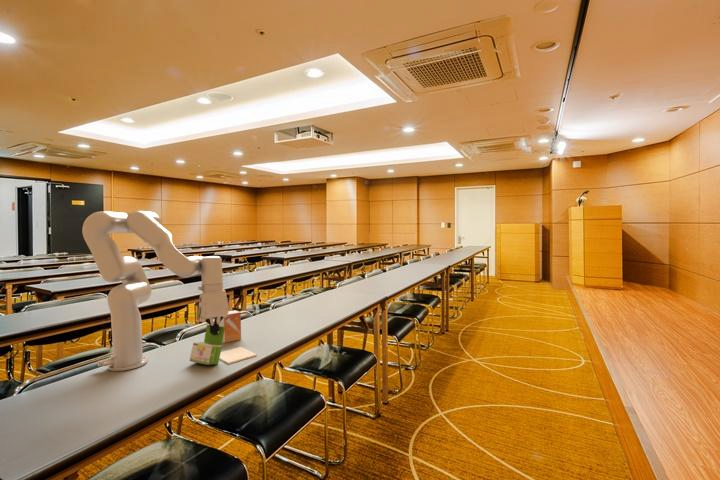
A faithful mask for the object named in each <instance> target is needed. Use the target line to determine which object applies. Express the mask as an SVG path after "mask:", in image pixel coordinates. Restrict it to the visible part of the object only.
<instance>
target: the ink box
mask: <svg viewBox="0 0 720 480" xmlns="http://www.w3.org/2000/svg"><path fill="white" fill-rule="evenodd" d="M205 329H206V330H205V332H204V333H205V335H204V340H203V342H202V341H200V342H198V341H194V342H192V349H191V352H190V357H189V362H192V363H196V364H197V363H198V364H201V365H206V366H210V365H219V363H220V359H219V358H220V353H221V352H222V348H223V347H222V346H223V342H222V341H223V336H224V330H225V327H221V326H219V332H218V335H212V334H211V333H210V326H209V324H206V328H205Z"/></svg>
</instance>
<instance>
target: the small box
mask: <svg viewBox="0 0 720 480" xmlns="http://www.w3.org/2000/svg"><path fill="white" fill-rule="evenodd" d="M241 314H242V313H241V312H240V311H239V310H235V309H234V310H229V312H228V316H227V317H225V318H223V319H222V320H221V321H220V324H219V326H221V327H225V330H224V336H223V341H222V343H224V344H227V343H230V342H235V341H239V340H240V341H241V340H242V324H241V323H242V321H241V319H242V318H241V316H242V315H241Z"/></svg>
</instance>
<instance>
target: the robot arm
mask: <svg viewBox="0 0 720 480" xmlns="http://www.w3.org/2000/svg"><path fill="white" fill-rule="evenodd" d="M81 233H82V236H83V239H84V241H85V243H86V245H87V247H88V249H89V250H90V253H91V254H92V259H93V260H94V262H95V264H96V266H97V268H98V271H99V274H100V276H101V277H102V279H103V280H104V281H105V282H107V283H119V282H121V283H122V284H118V285H117V286H114V287H113V288H111V290H110V291H109V293H108V294H107V305H108V308H109V313H110V321H111V324H110V325H111V337H112V338H111V339H112V342H111V343H112V354H111V355H110V357H107V359H102V360H97V367H102V366H103V367H107V366H108V370H110V371H112V372H122V371H123V372H124V371H129V370H133V369H137V368H139V367H143V366H144V365H146V364H147V362H148V357H147V356H144V355H143V335H142V333H143V331H142V316H141V312H140V310H139V307H138V305H141V304H144V303H145V302H147V301H149V299H151V298H150V297H151V296H152V287H151V284H150V282H149V279H148V277H147V275H146V272H145V270H144V268H143V265H141V263H140V262H139V260H138V259H137V258H135V257H133V256H126V255H125V256H123V254H122V253H121V251H120V247H119V245H118V244H117V243H116V241H115V240H114V239H113V237H111V236H110V234H135V235H136V237H138V238H140V240H142V241H144V243H146V244H147V245H148V246H149V247H150V248H151V249H152V250H153V251H154V253H155V254H156V256H157V258H158V260H159V262H161V264H162V265H163V266H165V267H166V269H168V270H169V271H171V272H172V273H173V274H174V275H175V276H177V277H180V278H190V277H193V276H197V275H201V285H200V286H198V289H197V290H199V291H201V292H200V293H199V299H198V316H199V319H198V321H199V322H201V323H207V325H209V326H210V333H211V334H212V335H218V333H219V324H220V321H221V320H222V319H223V318H225V317H227V316H228V312H229V311H230V310H229V303H228V302H229V301H228V297H227V292H226V290H225V289H224V284H223V283H224V281H223V279H224V278H223V259H222V257H221V256H218V255H209V256H199V255H191V256H185V255H184V254H183V253H182V252H181V251H180V250H178V249H177V247H176V246H175V245H174V243H173V234H172V233H171V232H170V231H169V230H168V229H166V227H164V226H163V225H162V219H161V217H160V216H159V215H158V214H157V213H156V212H154V211H153V212H152V211H147V210H133V211H132V212H119V211H108V210H103V211H95V212H93V213H91V214H90V215H89V216H88V215H87V217H86V219H85V220H84V221H83V225H82V232H81Z"/></svg>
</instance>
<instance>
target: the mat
mask: <svg viewBox="0 0 720 480" xmlns="http://www.w3.org/2000/svg"><path fill="white" fill-rule="evenodd" d="M257 356H258V354H256V353H255V352H252V351H250V350H248V349H246V348H244V347H242V346H238V347H235V348H231V349H227V350H225V351H224V350H223V351H221V353H220V358H219V361H221V362H223V363H225V364H227V365H231V364H234V363H237V362H241V361H244V360H248V359H251V358H254V357H257Z"/></svg>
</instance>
